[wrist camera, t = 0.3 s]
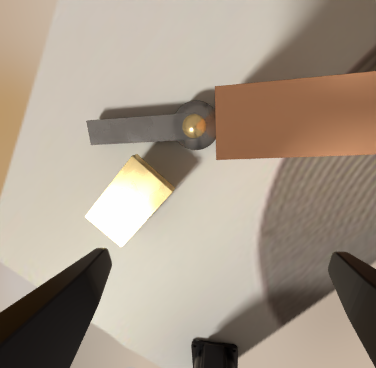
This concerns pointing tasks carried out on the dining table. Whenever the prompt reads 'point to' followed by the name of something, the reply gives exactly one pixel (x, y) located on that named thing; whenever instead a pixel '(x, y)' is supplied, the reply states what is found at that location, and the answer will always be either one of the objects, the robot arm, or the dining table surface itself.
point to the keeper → (129, 200)
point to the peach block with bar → (266, 120)
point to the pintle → (194, 126)
